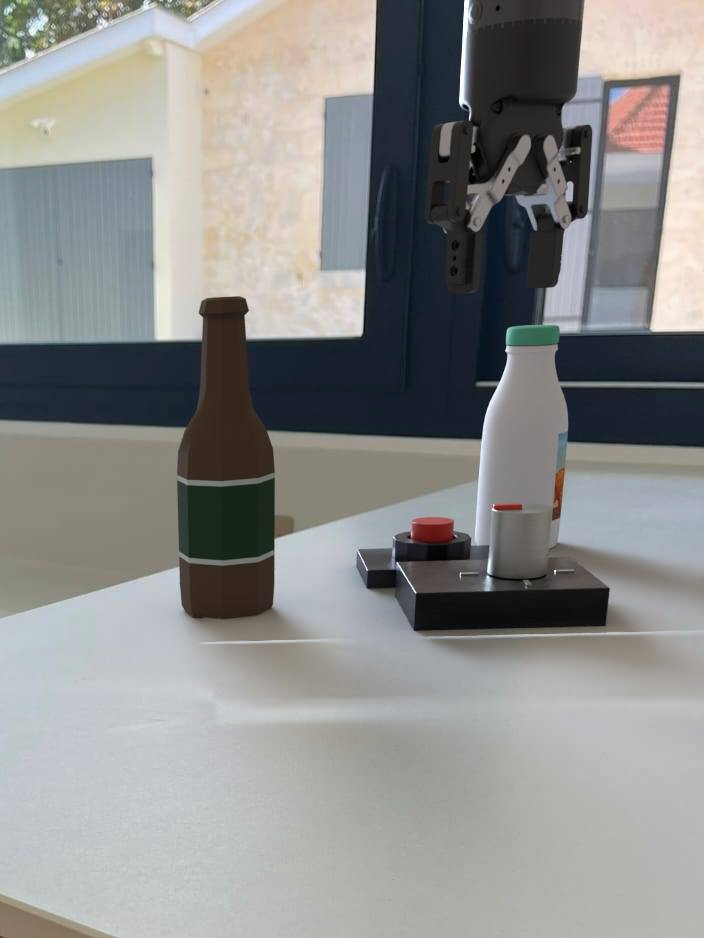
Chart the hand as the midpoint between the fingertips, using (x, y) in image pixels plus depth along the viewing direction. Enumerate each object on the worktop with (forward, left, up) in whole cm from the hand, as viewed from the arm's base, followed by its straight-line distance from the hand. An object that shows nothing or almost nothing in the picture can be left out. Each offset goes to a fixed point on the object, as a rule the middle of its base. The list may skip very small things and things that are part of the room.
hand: (503, 290), depth 87 cm
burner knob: (-3, -1, -20) cm, 21 cm away
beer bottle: (+20, -4, -24) cm, 31 cm away
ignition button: (+2, -14, -20) cm, 25 cm away
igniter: (+2, -14, -24) cm, 27 cm away
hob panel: (-1, -1, -24) cm, 24 cm away
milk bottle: (-8, -26, -24) cm, 36 cm away
